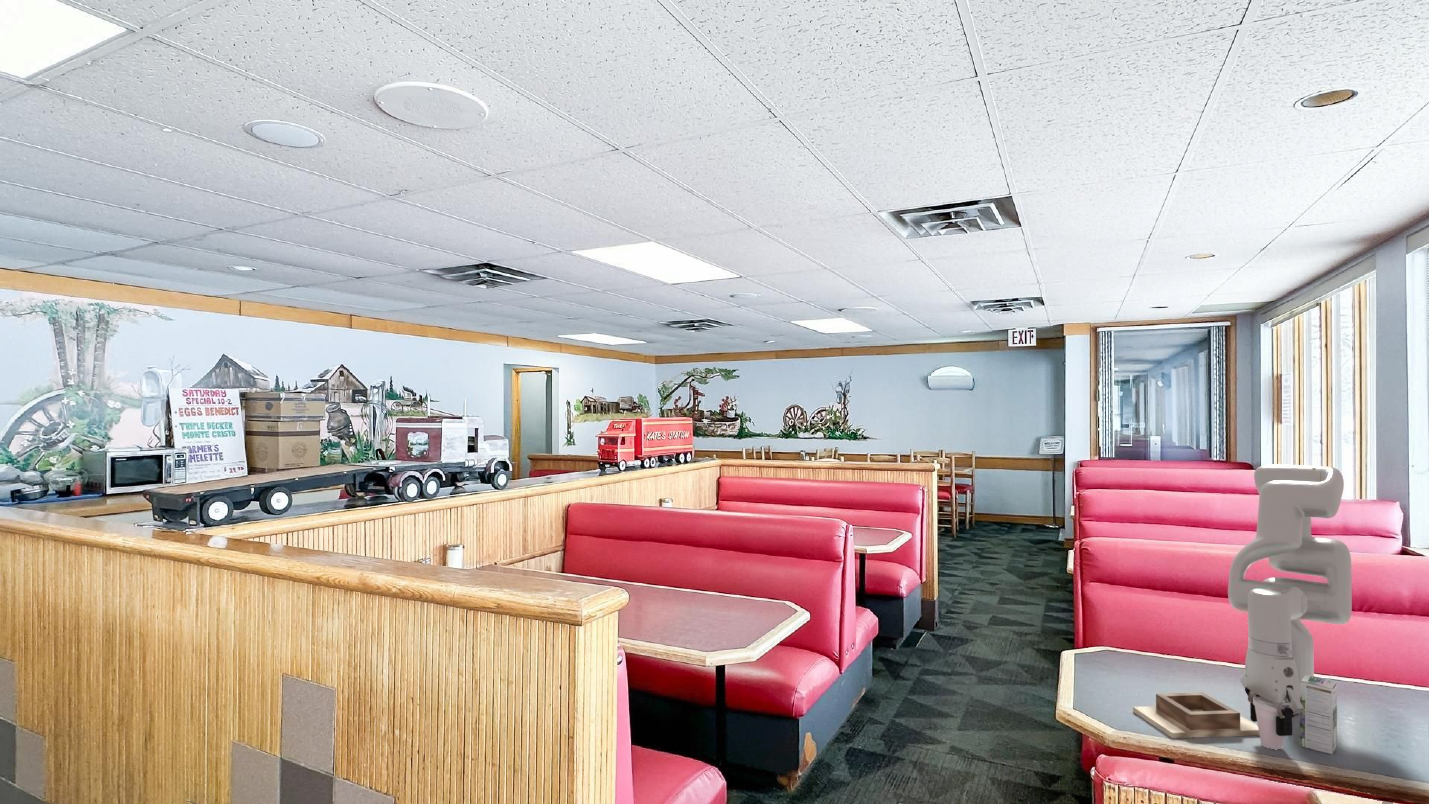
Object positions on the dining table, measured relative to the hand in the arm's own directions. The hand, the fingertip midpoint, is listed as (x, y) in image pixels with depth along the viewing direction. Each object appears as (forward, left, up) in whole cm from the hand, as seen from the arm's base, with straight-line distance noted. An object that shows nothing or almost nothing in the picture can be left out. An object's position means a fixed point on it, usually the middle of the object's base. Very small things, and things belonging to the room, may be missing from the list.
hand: (1271, 727), depth 157 cm
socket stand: (+8, -12, -4) cm, 15 cm away
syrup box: (-10, +1, -4) cm, 11 cm away
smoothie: (0, 0, -4) cm, 4 cm away
